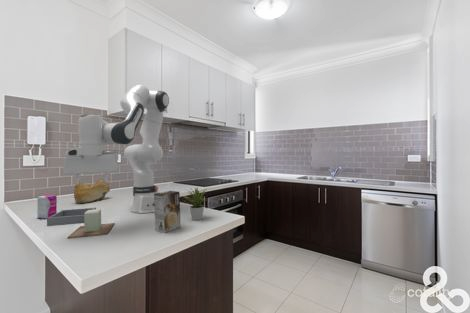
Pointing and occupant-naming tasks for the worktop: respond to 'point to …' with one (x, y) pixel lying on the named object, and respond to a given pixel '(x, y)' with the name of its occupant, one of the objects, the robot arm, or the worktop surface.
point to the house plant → (196, 204)
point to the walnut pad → (81, 231)
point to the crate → (68, 217)
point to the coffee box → (167, 211)
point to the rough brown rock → (91, 191)
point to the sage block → (92, 220)
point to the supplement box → (46, 206)
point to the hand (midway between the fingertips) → (92, 183)
